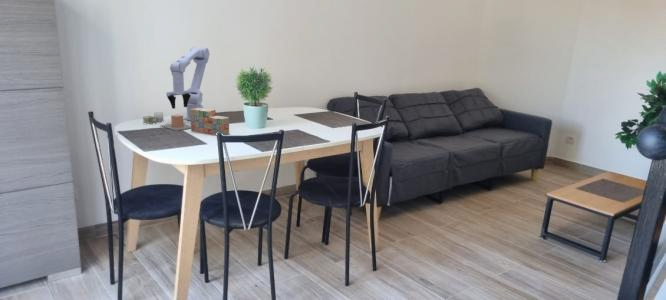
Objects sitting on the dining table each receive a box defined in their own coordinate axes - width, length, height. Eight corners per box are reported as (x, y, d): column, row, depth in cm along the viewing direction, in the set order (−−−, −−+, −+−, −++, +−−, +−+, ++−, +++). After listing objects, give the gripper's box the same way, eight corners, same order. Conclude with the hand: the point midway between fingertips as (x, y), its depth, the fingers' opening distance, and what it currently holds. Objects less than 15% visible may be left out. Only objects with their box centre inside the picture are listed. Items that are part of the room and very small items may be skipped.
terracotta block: (178, 125, 270) (177, 114, 269) (183, 126, 268) (183, 115, 266) (171, 126, 267) (171, 115, 265) (176, 127, 264) (176, 116, 263)
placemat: (179, 123, 276) (179, 122, 276) (195, 128, 267) (195, 127, 267) (160, 126, 267) (160, 125, 267) (176, 131, 258) (176, 130, 258)
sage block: (151, 122, 278) (151, 115, 277) (156, 123, 274) (155, 117, 273) (143, 123, 274) (143, 116, 273) (147, 124, 271) (147, 117, 270)
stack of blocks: (229, 134, 255) (229, 111, 252) (221, 136, 249) (221, 113, 246) (198, 129, 264) (198, 107, 261) (190, 131, 259) (189, 108, 256)
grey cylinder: (160, 120, 284) (160, 112, 283) (165, 121, 281) (164, 113, 280) (152, 121, 280) (152, 112, 279) (157, 122, 277) (156, 114, 276)
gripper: (185, 82, 278) (186, 105, 281) (162, 83, 267) (164, 108, 271) (192, 83, 274) (193, 107, 277) (170, 85, 263) (171, 109, 266)
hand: (179, 107), depth 274 cm, fingers open, 7 cm apart
